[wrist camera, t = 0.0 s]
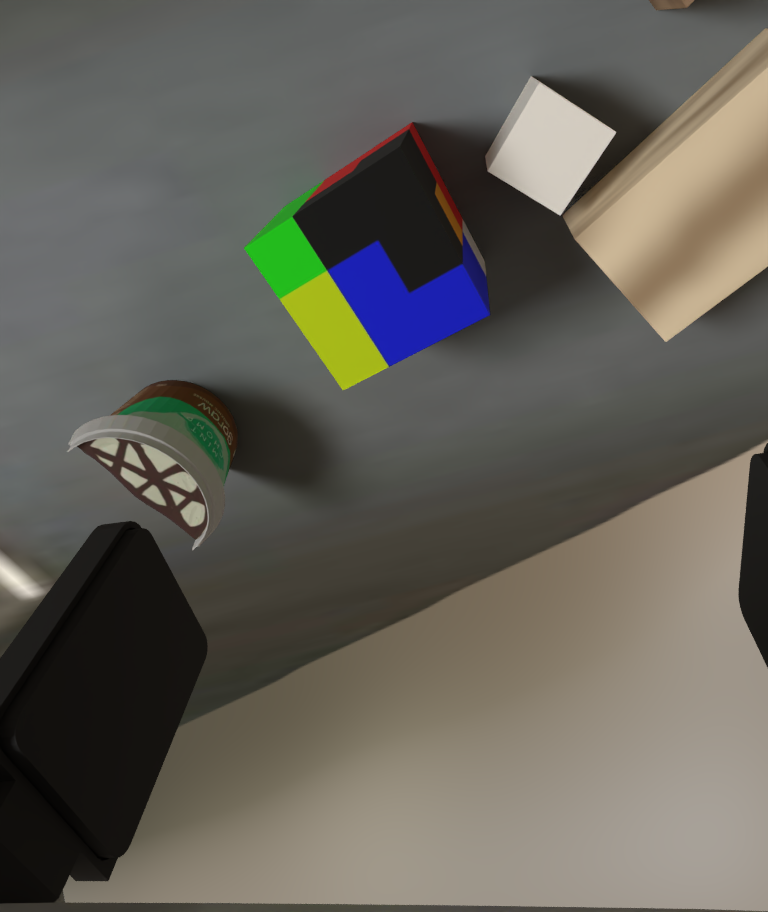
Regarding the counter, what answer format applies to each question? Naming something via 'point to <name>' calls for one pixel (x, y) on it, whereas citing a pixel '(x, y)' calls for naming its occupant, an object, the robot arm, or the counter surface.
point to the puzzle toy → (375, 261)
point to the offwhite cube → (547, 146)
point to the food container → (168, 452)
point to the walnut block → (670, 4)
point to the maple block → (688, 201)
